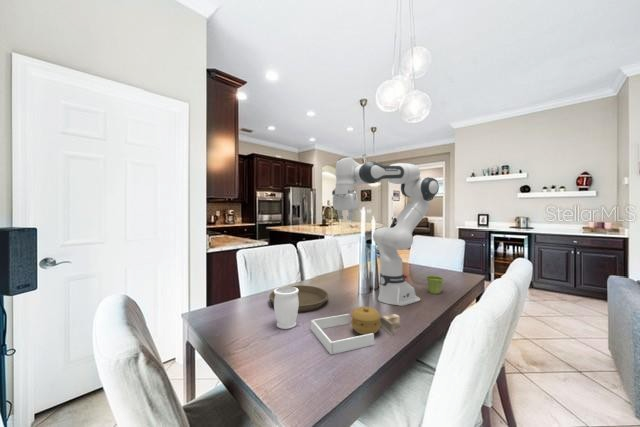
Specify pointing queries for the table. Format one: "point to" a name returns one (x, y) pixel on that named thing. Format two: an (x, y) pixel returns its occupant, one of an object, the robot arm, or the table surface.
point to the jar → (286, 306)
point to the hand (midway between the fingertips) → (345, 219)
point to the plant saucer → (308, 297)
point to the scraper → (390, 323)
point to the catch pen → (342, 344)
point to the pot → (365, 320)
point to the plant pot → (434, 284)
